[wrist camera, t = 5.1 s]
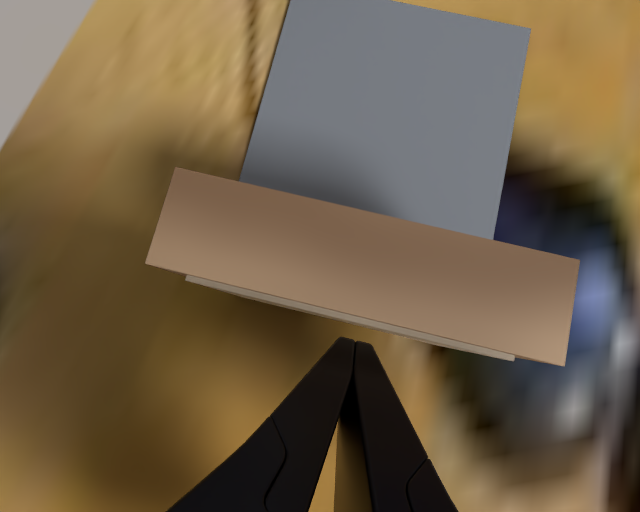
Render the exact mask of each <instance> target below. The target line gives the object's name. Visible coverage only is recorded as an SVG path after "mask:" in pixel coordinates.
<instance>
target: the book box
mask: <svg viewBox="0 0 640 512" xmlns="http://www.w3.org/2000/svg"><path fill="white" fill-rule="evenodd" d="M579 263H580V260H577V259H573V258H569V257H564V256H560V255H556V254H551V253H547V252H543V251H538V250H534V249H530V248H525V247H521V246H517V245H512V244H508V243H504V242H499V241H495V240H491V239H486V238H482V237H478V236H473V235H469V234H465V233H460V232H456V231H452V230H447V229H443V228H439V227H434V226H430V225H426V224H421V223H417V222H412V221H408V220H404V219H399V218H395V217H391V216H386V215H382V214H378V213H373V212H369V211H365V210H360V209H356V208H352V207H347V206H343V205H339V204H334V203H330V202H326V201H321V200H317V199H313V198H308V197H304V196H300V195H295V194H291V193H287V192H282V191H278V190H274V189H269V188H265V187H261V186H256V185H252V184H248V183H243V182H239V181H235V180H230V179H226V178H222V177H217V176H213V175H209V174H204V173H200V172H196V171H191V170H187V169H183V168H178V167H175V170H174V173H173V176H172V179H171V182H170V186H169V189H168V192H167V195H166V198H165V201H164V205H163V208H162V211H161V214H160V217H159V221H158V224H157V227H156V230H155V233H154V236H153V240H152V243H151V246H150V249H149V252H148V255H147V259H146V262H145V264H148V265H151V266H154V267H157V268H160V269H164V270H167V271H170V272H173V273H176V274H179V275H182V276H185V277H186V279H185V281H189V282H192V283H196V284H199V285H203V286H206V287H209V288H213V289H216V290H220V291H223V292H227V293H230V294H233V295H237V296H240V297H244V298H248V299H252V300H256V301H260V302H264V303H268V304H272V305H276V306H280V307H284V308H288V309H292V310H296V311H301V312H305V313H309V314H313V315H317V316H321V317H325V318H329V319H333V320H337V321H341V322H345V323H349V324H353V325H357V326H361V327H365V328H369V329H373V330H378V331H382V332H386V333H390V334H394V335H398V336H402V337H406V338H410V339H414V340H418V341H422V342H426V343H430V344H434V345H439V346H444V347H448V348H453V349H458V350H462V351H467V352H472V353H477V354H481V355H486V356H491V357H495V358H500V359H505V360H510V361H514V358H515V357H517V358H522V359H527V360H533V361H538V362H543V363H549V364H554V365H559V366H565V360H566V353H567V346H568V339H569V332H570V325H571V318H572V311H573V304H574V298H575V291H576V284H577V277H578V270H579Z"/></svg>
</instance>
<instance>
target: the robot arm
mask: <svg viewBox="0 0 640 512" xmlns="http://www.w3.org/2000/svg"><path fill="white" fill-rule="evenodd" d="M337 422H338V431H337V452H336V473H335V495H334V512H458V510H457V508H456V507H455V505H454V503H453V502H452V500H451V498H450V497H449V495H448V493H447V491H446V489H445V487H444V485H443V484H442V482H441V480H440V478H439V476H438V474H437V472H436V470H435V468H434V466H433V464H432V462H431V460H430V459H428V455H427V453H426V451H425V449H424V448H423V446H422V444H421V442H420V440H419V438H418V436H417V434H416V432H415V430H414V428H413V426H412V424H411V422H410V420H409V418H408V416H407V414H406V412H405V410H404V408H403V406H402V404H401V402H400V400H399V398H398V396H397V394H396V392H395V390H394V388H393V386H392V384H391V382H390V380H389V378H388V376H387V374H386V372H385V370H384V368H383V366H382V364H381V362H380V360H379V358H378V356H377V354H376V352H375V350H374V348H373V346H372V345H371V344H369V343H365V342H361V341H356V342H355V341H354V340H353V339H349V338H345V337H339V338H338V339H337V340H336V341H335V343H334V344H333V345H332V346H331V347H330V348H329V349H328V350H327V352H326V353H325V354H324V355H323V356H322V357H321V358H320V359H319V361H318V362H317V363H316V364H315V365H314V366H313V367H312V369H311V370H310V371H309V372H308V373H307V374H306V375H305V376H304V378H303V379H302V380H301V381H300V382H299V383H298V384H297V386H296V387H295V388H294V389H293V390H292V391H291V392H290V393H289V395H288V396H287V397H286V398H285V399H284V400H283V401H282V402H281V404H280V405H279V406H278V407H277V408H276V409H275V410H274V412H273V413H272V414H271V415H270V417H268V418H267V419H266V420H265V421H264V422H263V423H262V425H261V426H260V427H259V428H258V429H257V430H256V431H255V432H254V433H253V434H252V435H251V436H250V437H249V438H248V439H247V440H246V442H245V443H244V444H243V445H241V446H240V447H239V448H238V449H237V450H236V451H235V452H234V453H233V454H232V455H231V456H229V457H228V458H227V459H226V460H225V461H224V462H223V463H222V464H220V465H219V466H218V467H217V468H216V469H215V470H213V471H212V472H211V473H210V474H209V475H208V476H207V477H205V478H204V479H203V480H202V481H201V482H200V483H198V484H197V485H196V486H195V487H194V488H193V489H191V490H190V491H189V492H188V493H187V494H186V495H184V496H183V497H182V498H181V499H180V500H179V501H177V502H176V503H175V504H174V505H173V506H172V507H170V508H169V509H168V510H167V511H166V512H308V511H309V508H310V505H311V502H312V498H313V495H314V492H315V489H316V486H317V483H318V480H319V477H320V474H321V471H322V468H323V465H324V462H325V459H326V456H327V452H328V449H329V446H330V443H331V440H332V437H333V434H334V431H335V428H336V425H337Z"/></svg>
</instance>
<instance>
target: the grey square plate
mask: <svg viewBox="0 0 640 512" xmlns="http://www.w3.org/2000/svg"><path fill="white" fill-rule="evenodd" d="M530 32H531V29H530V28H525V27H520V26H515V25H510V24H505V23H500V22H495V21H491V20H486V19H481V18H476V17H471V16H466V15H461V14H456V13H451V12H446V11H441V10H436V9H431V8H426V7H421V6H416V5H411V4H406V3H401V2H396V1H391V0H291V1H290V4H289V8H288V11H287V15H286V18H285V22H284V25H283V29H282V32H281V36H280V39H279V43H278V46H277V50H276V53H275V57H274V60H273V64H272V67H271V71H270V74H269V78H268V81H267V85H266V88H265V91H264V95H263V98H262V102H261V105H260V109H259V112H258V116H257V119H256V123H255V126H254V130H253V133H252V137H251V140H250V144H249V147H248V151H247V154H246V158H245V161H244V165H243V168H242V172H241V175H240V179H239V182H243V183H248V184H252V185H256V186H261V187H265V188H269V189H274V190H278V191H282V192H287V193H291V194H295V195H300V196H304V197H308V198H313V199H317V200H321V201H326V202H330V203H334V204H339V205H343V206H347V207H352V208H356V209H360V210H365V211H369V212H373V213H378V214H382V215H386V216H391V217H395V218H399V219H404V220H408V221H412V222H417V223H421V224H426V225H430V226H434V227H439V228H443V229H447V230H452V231H456V232H460V233H465V234H469V235H473V236H478V237H482V238H486V239H491V240H493V236H494V231H495V225H496V220H497V214H498V208H499V203H500V197H501V192H502V186H503V181H504V175H505V170H506V164H507V159H508V153H509V148H510V142H511V137H512V131H513V126H514V120H515V114H516V109H517V103H518V98H519V92H520V87H521V81H522V76H523V70H524V65H525V59H526V54H527V48H528V43H529V37H530Z"/></svg>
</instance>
